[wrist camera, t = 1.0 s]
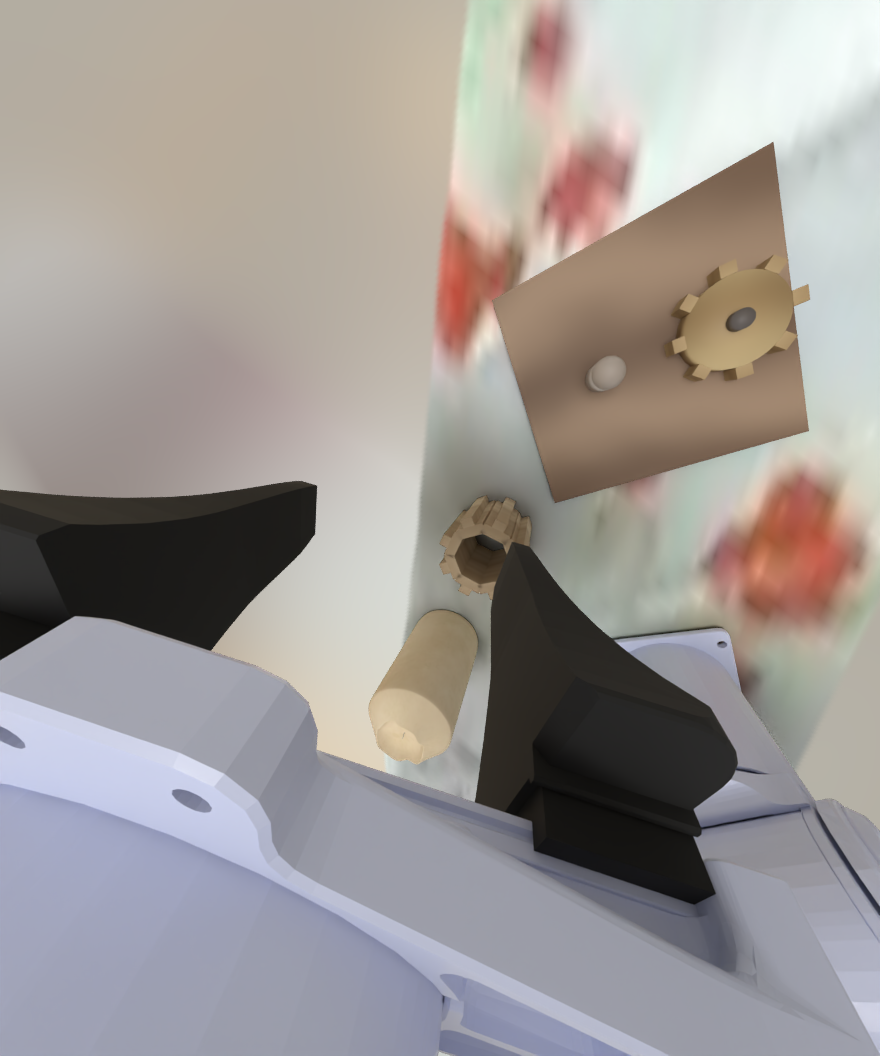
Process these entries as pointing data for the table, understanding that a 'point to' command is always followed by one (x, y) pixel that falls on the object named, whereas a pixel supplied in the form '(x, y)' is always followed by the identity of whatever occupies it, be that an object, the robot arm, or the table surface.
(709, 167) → the table surface
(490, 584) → the maple gear
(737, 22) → the table surface
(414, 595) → the table surface
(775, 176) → the gear board
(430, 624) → the candle
